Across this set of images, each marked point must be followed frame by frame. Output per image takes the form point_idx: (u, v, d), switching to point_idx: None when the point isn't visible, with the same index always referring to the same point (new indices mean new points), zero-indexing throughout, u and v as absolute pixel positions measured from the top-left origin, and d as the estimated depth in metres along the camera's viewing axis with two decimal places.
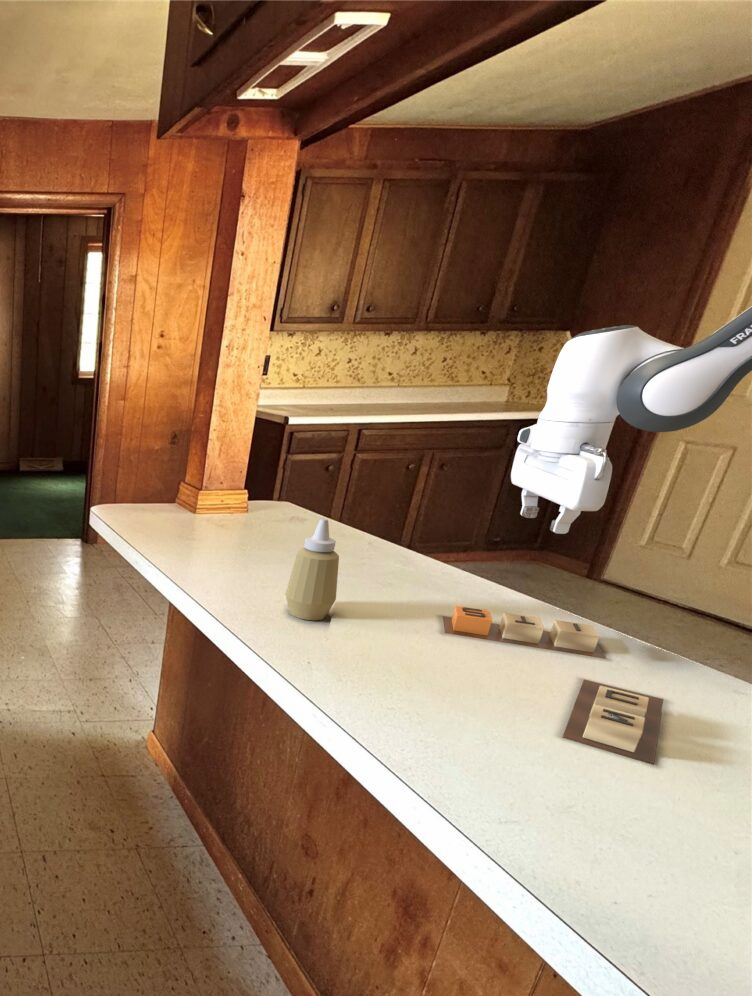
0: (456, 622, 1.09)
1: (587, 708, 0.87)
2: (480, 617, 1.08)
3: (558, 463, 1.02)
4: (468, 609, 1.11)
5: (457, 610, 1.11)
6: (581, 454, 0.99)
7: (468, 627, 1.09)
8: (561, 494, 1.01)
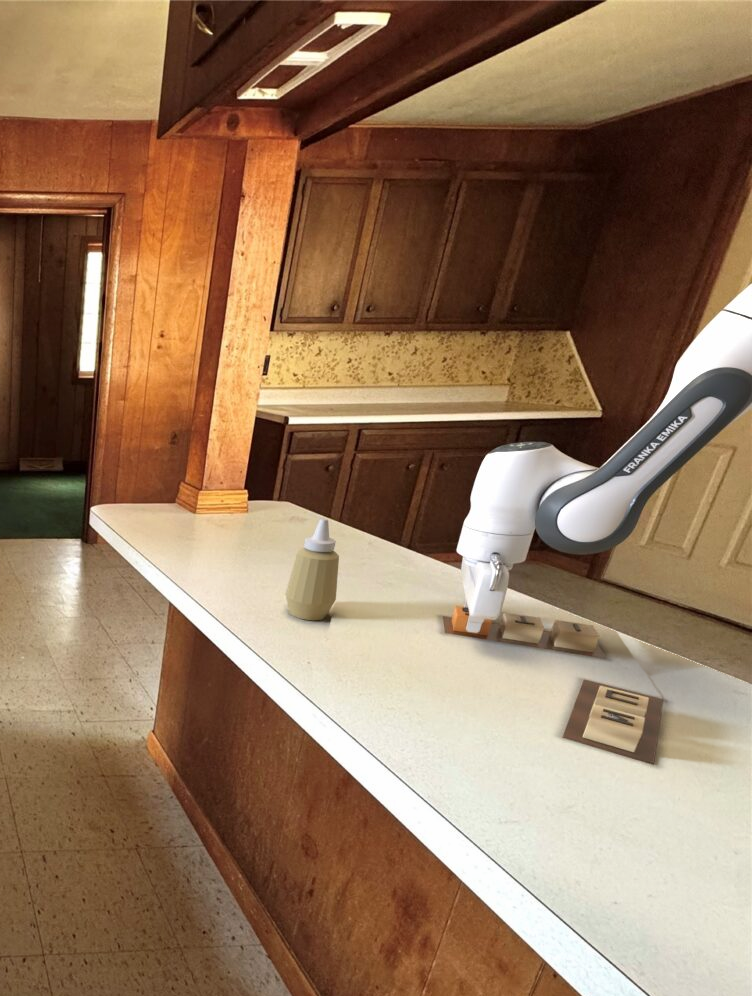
0: (456, 622, 1.09)
1: (587, 708, 0.87)
2: None
3: (474, 568, 1.05)
4: (468, 609, 1.11)
5: (457, 610, 1.11)
6: (490, 563, 1.02)
7: None
8: (469, 598, 1.04)
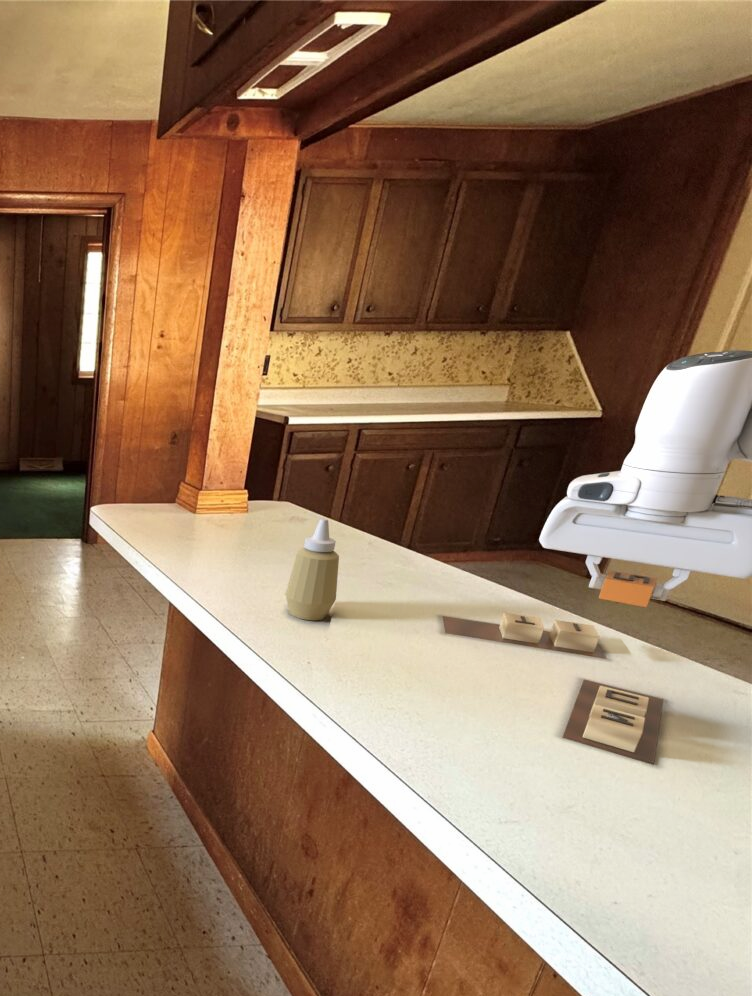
0: (650, 596, 0.84)
1: (587, 708, 0.87)
2: (652, 580, 0.86)
3: (684, 523, 0.81)
4: (620, 577, 0.87)
5: (629, 582, 0.85)
6: (717, 509, 0.79)
7: None
8: (709, 560, 0.80)
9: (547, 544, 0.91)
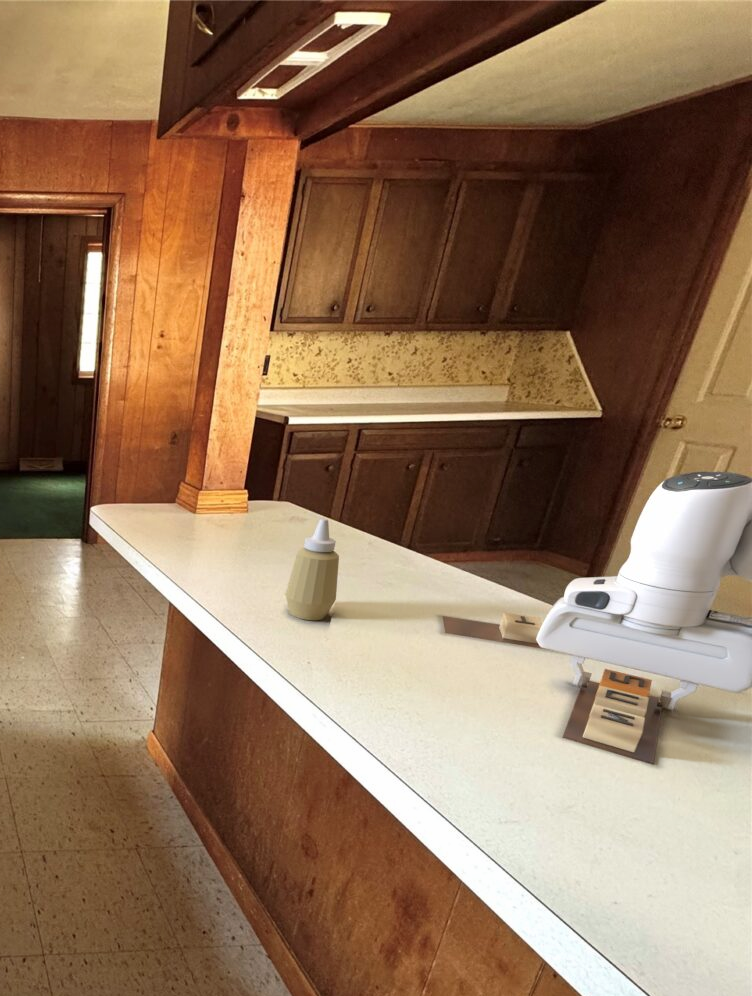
0: None
1: (587, 708, 0.87)
2: (647, 682, 0.87)
3: (678, 635, 0.82)
4: (615, 678, 0.88)
5: (625, 685, 0.87)
6: (711, 624, 0.81)
7: None
8: (703, 672, 0.81)
9: (544, 644, 0.92)
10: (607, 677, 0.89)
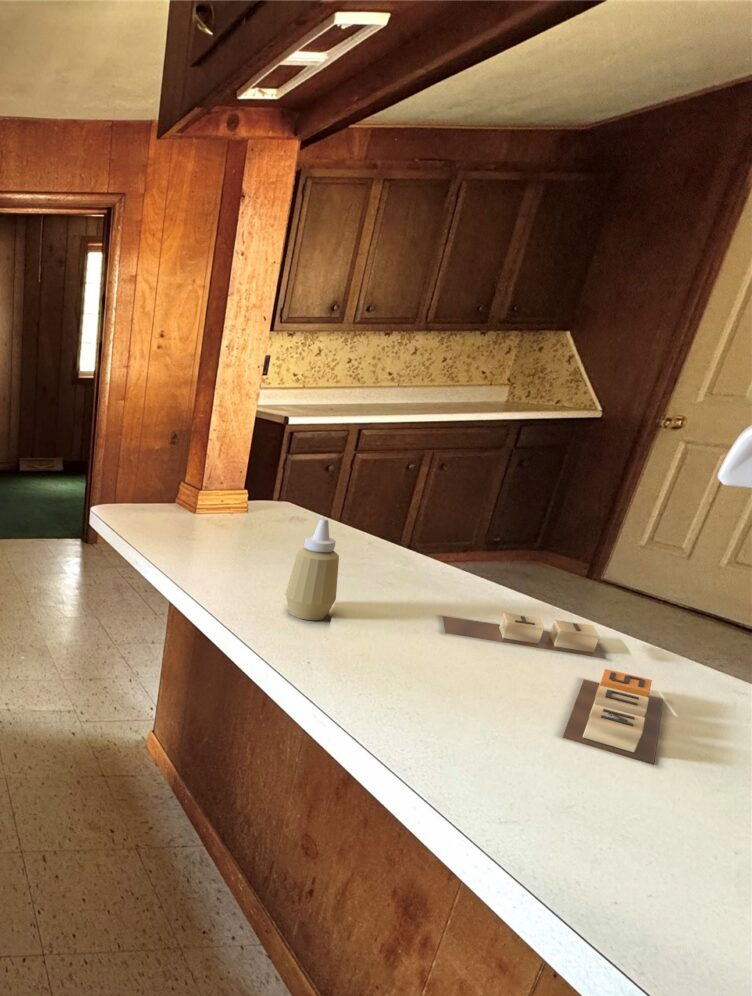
0: None
1: (587, 708, 0.87)
2: (647, 682, 0.87)
3: None
4: (615, 678, 0.88)
5: (625, 685, 0.87)
6: None
7: None
8: None
9: (730, 480, 0.78)
10: (607, 677, 0.89)
